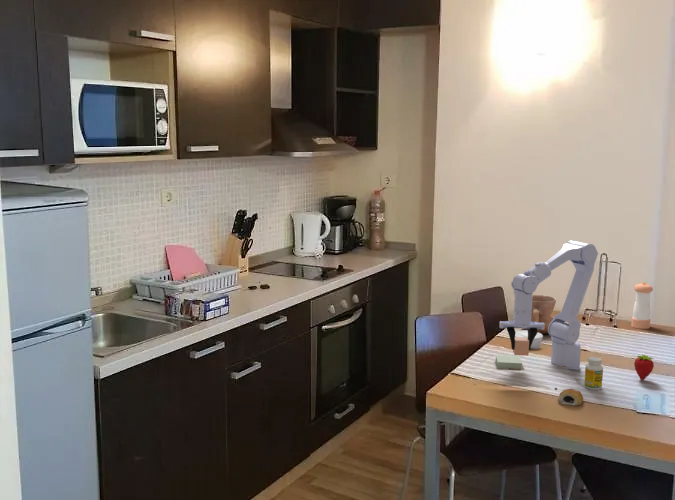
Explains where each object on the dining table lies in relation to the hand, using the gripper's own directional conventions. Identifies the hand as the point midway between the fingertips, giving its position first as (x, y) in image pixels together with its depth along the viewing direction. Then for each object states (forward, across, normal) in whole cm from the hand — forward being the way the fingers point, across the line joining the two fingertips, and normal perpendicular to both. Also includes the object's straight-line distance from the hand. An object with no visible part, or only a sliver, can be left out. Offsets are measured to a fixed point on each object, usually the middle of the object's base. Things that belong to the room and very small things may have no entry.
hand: (520, 349), depth 235 cm
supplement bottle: (+9, +22, -11) cm, 26 cm away
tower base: (+9, -3, +4) cm, 11 cm away
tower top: (+7, -3, +5) cm, 9 cm away
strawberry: (+9, +40, -2) cm, 41 cm away
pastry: (+9, +12, -24) cm, 28 cm away
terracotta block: (+1, 0, 0) cm, 1 cm away
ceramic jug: (+9, +15, +51) cm, 54 cm away
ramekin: (+9, +7, +29) cm, 31 cm away
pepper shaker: (+9, +60, +65) cm, 88 cm away
